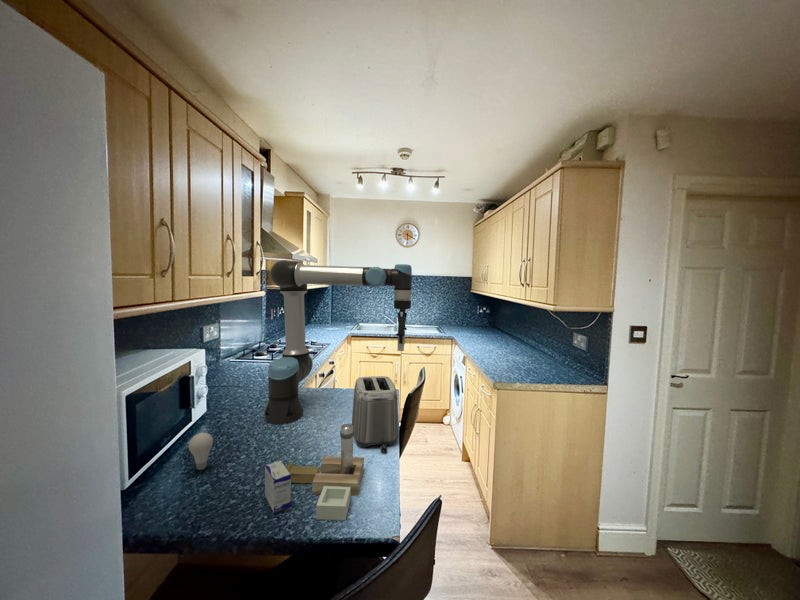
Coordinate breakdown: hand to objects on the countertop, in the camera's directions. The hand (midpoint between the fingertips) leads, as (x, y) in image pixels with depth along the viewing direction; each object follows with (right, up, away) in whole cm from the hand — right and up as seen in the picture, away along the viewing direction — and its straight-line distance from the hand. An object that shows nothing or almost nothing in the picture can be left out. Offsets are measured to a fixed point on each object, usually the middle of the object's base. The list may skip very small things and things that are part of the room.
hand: (401, 347), depth 139 cm
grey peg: (-16, -31, -50) cm, 60 cm away
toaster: (-10, -29, -22) cm, 38 cm away
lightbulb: (-60, -30, -46) cm, 81 cm away
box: (-32, -31, -58) cm, 73 cm away
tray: (-17, -31, -61) cm, 70 cm away
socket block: (-18, -31, -50) cm, 61 cm away
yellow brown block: (-29, -30, -49) cm, 65 cm away
